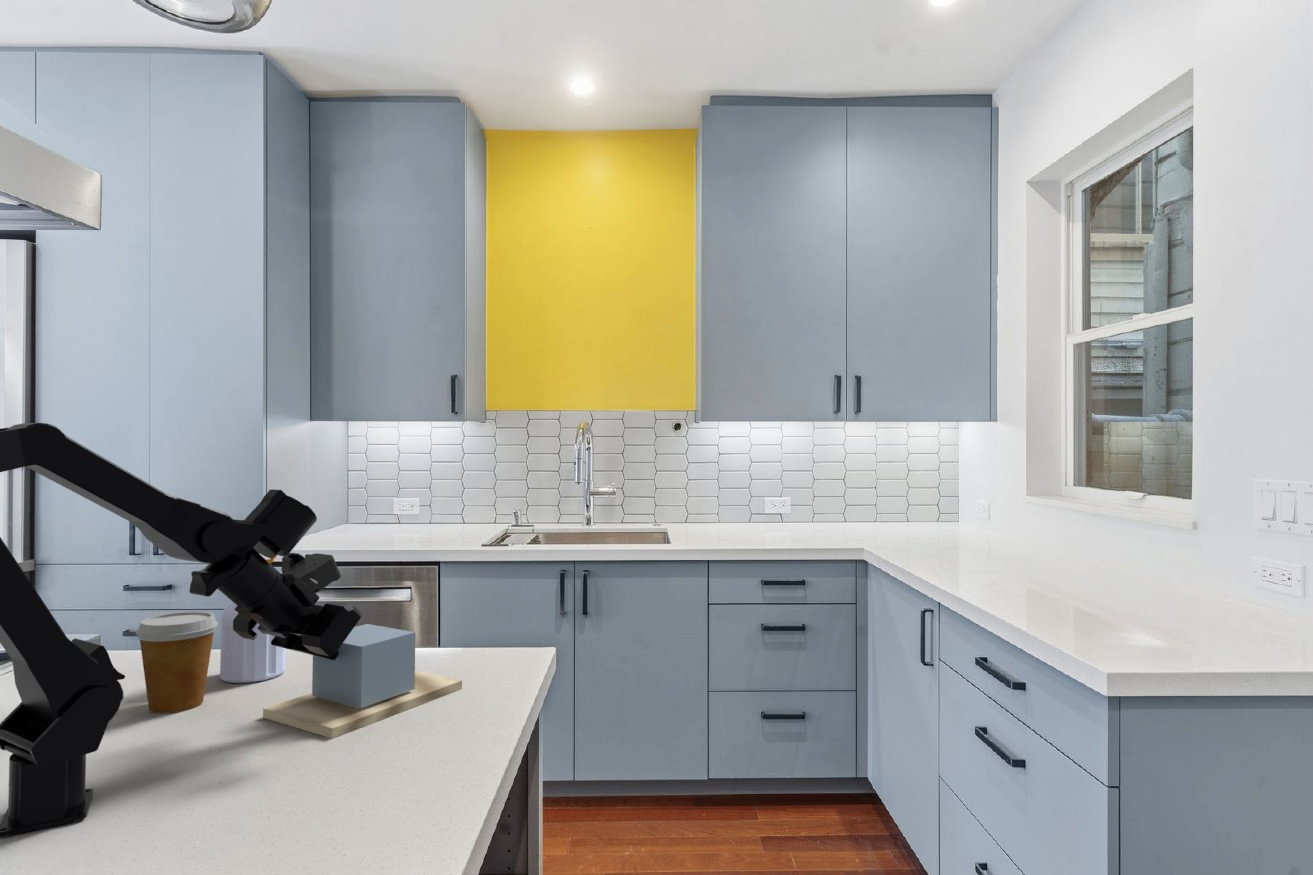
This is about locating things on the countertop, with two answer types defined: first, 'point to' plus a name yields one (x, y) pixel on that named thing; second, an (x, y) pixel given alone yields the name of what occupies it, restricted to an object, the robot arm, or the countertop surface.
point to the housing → (367, 667)
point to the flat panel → (346, 718)
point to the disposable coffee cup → (176, 659)
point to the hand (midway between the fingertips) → (335, 656)
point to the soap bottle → (248, 652)
